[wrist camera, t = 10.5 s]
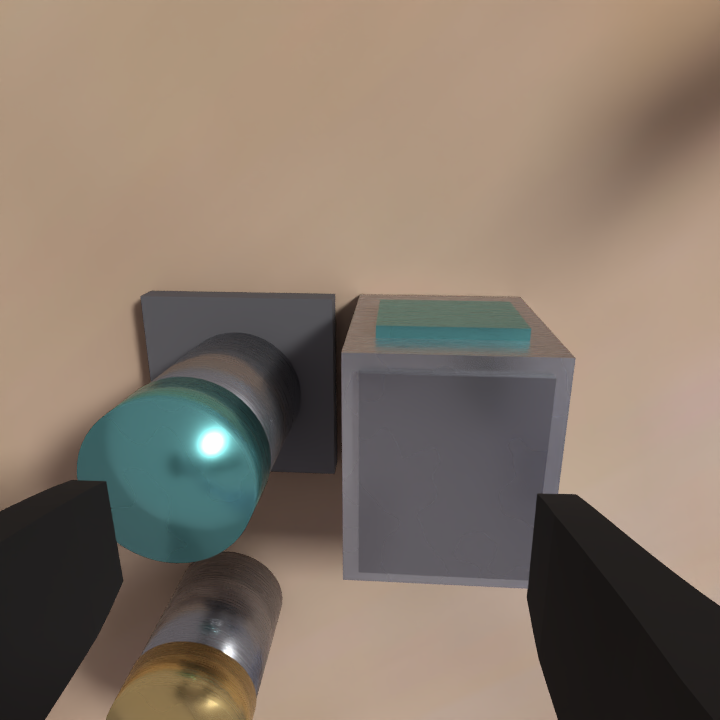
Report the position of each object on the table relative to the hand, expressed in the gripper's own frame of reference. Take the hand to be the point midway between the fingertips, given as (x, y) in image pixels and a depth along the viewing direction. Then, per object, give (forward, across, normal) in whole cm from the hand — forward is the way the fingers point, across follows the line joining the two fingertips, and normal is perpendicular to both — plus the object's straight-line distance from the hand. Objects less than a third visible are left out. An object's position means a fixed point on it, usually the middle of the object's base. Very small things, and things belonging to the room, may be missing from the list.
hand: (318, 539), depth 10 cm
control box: (+10, -2, +1) cm, 10 cm away
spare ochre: (+10, +5, +10) cm, 15 cm away
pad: (+10, +4, +1) cm, 11 cm away
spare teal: (+9, +4, +1) cm, 10 cm away
